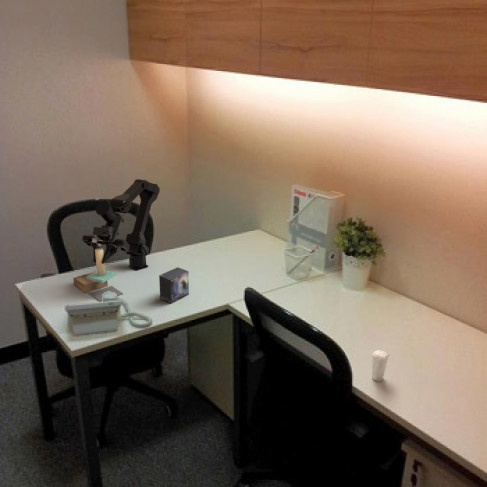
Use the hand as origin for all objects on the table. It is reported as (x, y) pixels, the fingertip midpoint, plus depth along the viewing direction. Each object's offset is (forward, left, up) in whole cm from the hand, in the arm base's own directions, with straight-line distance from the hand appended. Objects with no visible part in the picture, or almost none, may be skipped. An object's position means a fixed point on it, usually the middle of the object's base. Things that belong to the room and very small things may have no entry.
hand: (98, 262), depth 210 cm
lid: (-1, -1, -7) cm, 7 cm away
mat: (-2, +1, -14) cm, 14 cm away
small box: (-21, +21, -14) cm, 32 cm away
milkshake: (-36, +106, -14) cm, 112 cm away
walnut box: (-1, -10, -14) cm, 17 cm away
